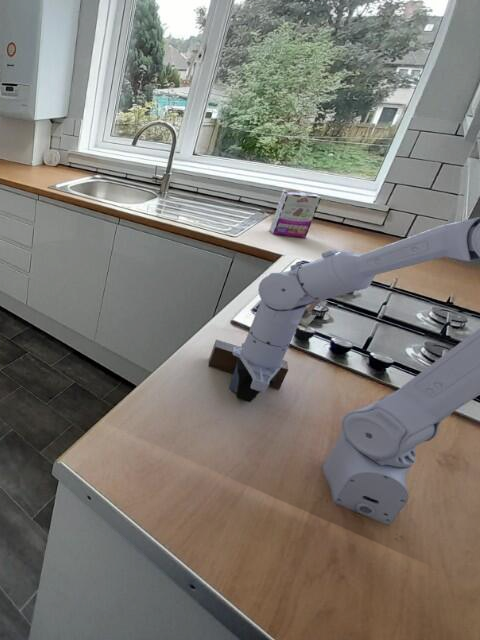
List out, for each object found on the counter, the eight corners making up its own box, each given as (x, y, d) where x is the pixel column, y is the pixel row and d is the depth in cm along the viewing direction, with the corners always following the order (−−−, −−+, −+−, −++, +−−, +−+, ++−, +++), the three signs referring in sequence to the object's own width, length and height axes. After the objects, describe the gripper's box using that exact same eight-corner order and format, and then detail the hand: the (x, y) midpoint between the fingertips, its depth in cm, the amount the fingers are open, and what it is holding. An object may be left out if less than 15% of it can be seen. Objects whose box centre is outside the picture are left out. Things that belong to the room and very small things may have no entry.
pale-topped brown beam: (277, 394, 78) (288, 369, 75) (206, 370, 83) (215, 346, 81) (276, 385, 80) (287, 361, 78) (207, 362, 86) (216, 339, 83)
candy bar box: (300, 234, 161) (316, 193, 154) (305, 238, 157) (322, 197, 150) (268, 230, 164) (282, 190, 157) (272, 234, 160) (287, 193, 153)
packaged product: (289, 275, 115) (333, 290, 108) (283, 290, 117) (326, 305, 110) (267, 294, 104) (314, 311, 97) (260, 310, 106) (306, 328, 99)
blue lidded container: (253, 408, 75) (273, 369, 70) (226, 398, 77) (243, 359, 72) (254, 379, 81) (272, 341, 76) (229, 370, 83) (244, 333, 78)
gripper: (241, 310, 76) (220, 367, 82) (241, 350, 65) (216, 413, 70) (287, 322, 73) (261, 381, 78) (295, 367, 61) (264, 432, 67)
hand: (243, 398), depth 74 cm, fingers closed
